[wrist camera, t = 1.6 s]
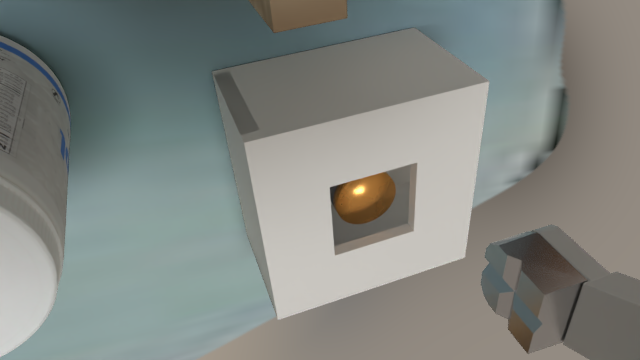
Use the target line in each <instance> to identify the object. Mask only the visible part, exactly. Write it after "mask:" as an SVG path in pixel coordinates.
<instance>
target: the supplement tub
mask: <svg viewBox="0 0 640 360" xmlns="http://www.w3.org/2000/svg"><path fill="white" fill-rule="evenodd" d="M70 134H71V115H70V108H69V104H68V100H67V97H66V94H65V91H64V89H63V87H62V85H61V84H60V82H59V80H58V79H57V77H56V76H55V74H54V73H53V72H52V71H51V69H50V68H49V67H48V66H47V65H46V64H45V63H44V62H43V61H42V60H41V59H40V58H38V57H37V56H36V55H35V54H33V53H32V52H31V51H29V50H28V49H26V48H25V47H23V46H21V45H19V44H18V43H16V42H14V41H12V40H10V39H8V38H5V37H3V36H0V357H1V356H3V355H5V354H7V353H9V352H10V351H12V350H14V349H15V348H17V347H18V346H20V345H21V344H22V343H24V342H25V341H26V340H27V339H29V338H30V337H31V336H32V335H33V334H34V333H35V332H36V331H37V330H38V329H39V327H40V326H41V325H42V324H43V322H44V321H45V320H46V318H47V317H48V315H49V313H50V311H51V309H52V307H53V305H54V302H55V299H56V295H57V290H58V284H59V281H60V277H61V274H62V268H63V259H64V244H65V226H66V207H67V187H68V168H69V150H70Z"/></svg>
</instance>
